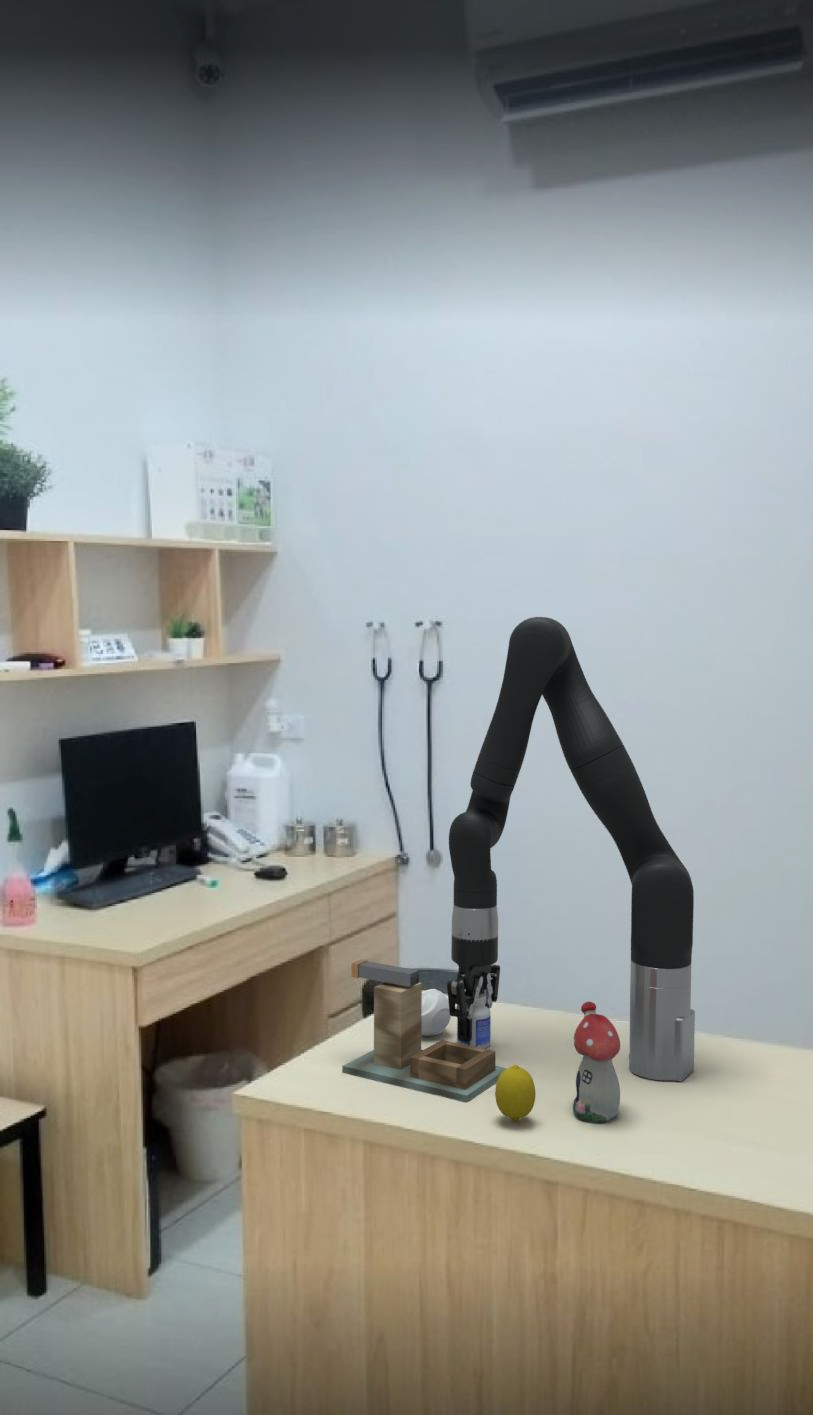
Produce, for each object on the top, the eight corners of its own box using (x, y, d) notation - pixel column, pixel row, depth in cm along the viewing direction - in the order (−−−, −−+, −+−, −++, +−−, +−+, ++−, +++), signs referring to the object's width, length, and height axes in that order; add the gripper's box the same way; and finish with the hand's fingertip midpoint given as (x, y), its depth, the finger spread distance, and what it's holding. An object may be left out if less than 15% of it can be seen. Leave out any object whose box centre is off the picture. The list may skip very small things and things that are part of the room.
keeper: (419, 983, 178) (419, 969, 178) (409, 987, 175) (409, 973, 175) (361, 972, 184) (361, 959, 183) (351, 976, 181) (351, 963, 181)
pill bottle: (490, 1048, 188) (491, 990, 187) (490, 1060, 182) (490, 999, 182) (457, 1047, 188) (458, 988, 188) (455, 1058, 183) (456, 998, 182)
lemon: (540, 1118, 159) (541, 1061, 159) (527, 1132, 154) (528, 1074, 154) (503, 1111, 162) (503, 1055, 161) (489, 1125, 157) (489, 1068, 156)
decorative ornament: (572, 1098, 166) (573, 997, 166) (617, 1101, 165) (619, 999, 165) (573, 1124, 157) (574, 1016, 156) (621, 1127, 156) (622, 1019, 156)
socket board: (507, 1074, 176) (508, 991, 175) (466, 1102, 165) (467, 1013, 164) (388, 1048, 187) (388, 969, 187) (342, 1072, 176) (342, 988, 176)
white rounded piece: (401, 1028, 197) (401, 984, 197) (443, 1025, 199) (443, 982, 199) (412, 1044, 190) (412, 998, 189) (456, 1040, 191) (456, 995, 191)
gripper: (473, 944, 176) (472, 1052, 177) (515, 926, 188) (514, 1027, 189) (432, 938, 180) (431, 1043, 181) (475, 920, 192) (474, 1020, 193)
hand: (473, 1035), depth 185 cm, fingers closed on pill bottle, 5 cm apart
